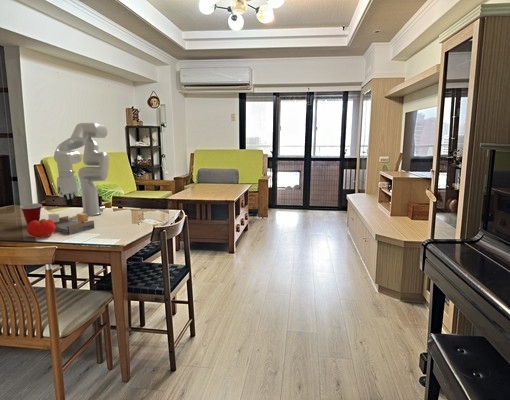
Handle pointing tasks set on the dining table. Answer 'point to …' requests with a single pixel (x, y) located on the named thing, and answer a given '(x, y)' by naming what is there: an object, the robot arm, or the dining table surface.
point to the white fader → (54, 217)
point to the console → (72, 226)
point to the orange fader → (82, 217)
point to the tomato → (41, 228)
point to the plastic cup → (31, 212)
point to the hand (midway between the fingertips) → (69, 205)
